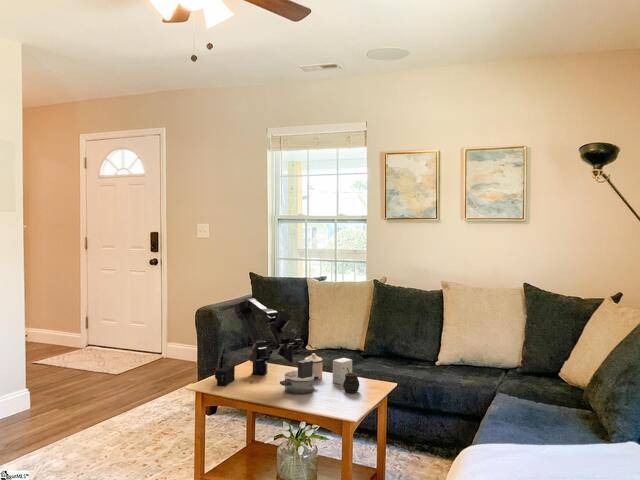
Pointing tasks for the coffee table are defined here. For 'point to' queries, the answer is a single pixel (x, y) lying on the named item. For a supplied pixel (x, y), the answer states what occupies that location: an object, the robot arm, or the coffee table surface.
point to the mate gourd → (351, 382)
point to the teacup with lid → (316, 365)
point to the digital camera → (225, 375)
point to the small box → (341, 369)
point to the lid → (301, 372)
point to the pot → (299, 386)
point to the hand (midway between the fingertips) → (291, 362)
